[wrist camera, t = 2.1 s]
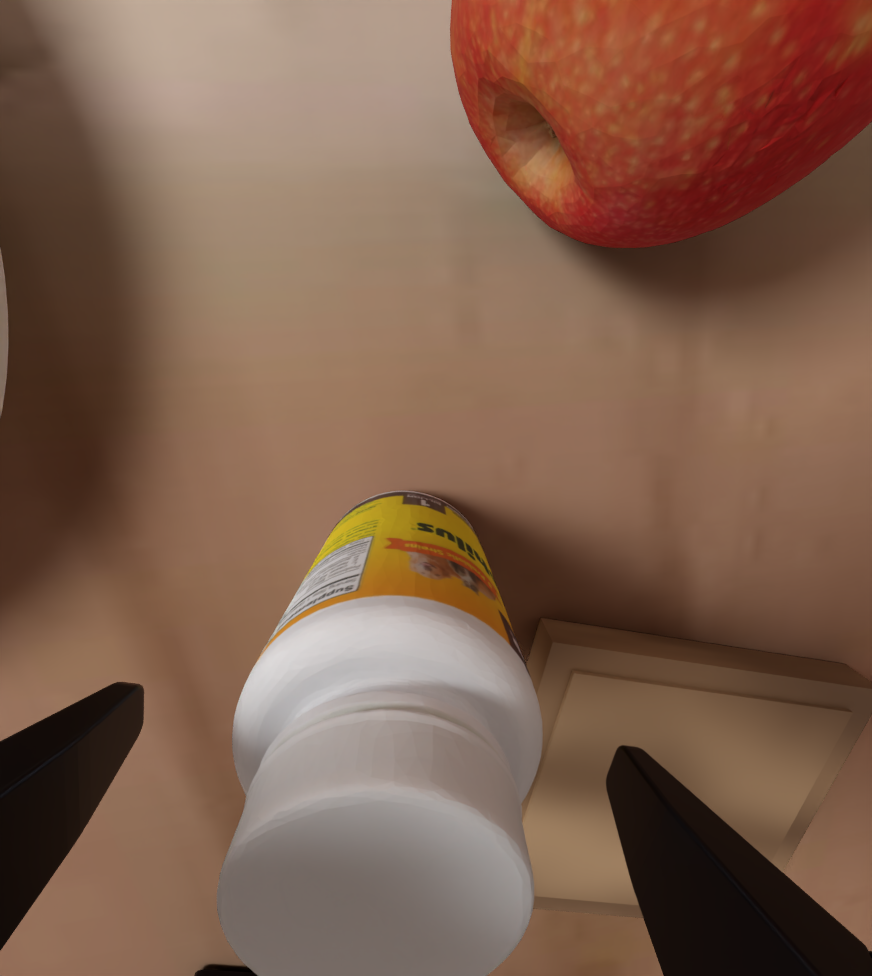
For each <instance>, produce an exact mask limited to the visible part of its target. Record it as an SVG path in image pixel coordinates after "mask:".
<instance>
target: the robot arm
mask: <svg viewBox="0 0 872 976" xmlns="http://www.w3.org/2000/svg"><path fill="white" fill-rule="evenodd" d="M143 718H144V689H143V687H142V685H140V684H135V683H127V682H116V683H114V684H111V685H109V686H107V687H105V688H103V689H102V690H100V691H98V692H96V693H94V694H92V695H90V696H88V697H86V698H84V699H82V700H80V701H78V702H76V703H74V704H72V705H70V706H68V707H66V708H64V709H62V710H61V711H59V712H57V713H55V714H53V715H51V716H49V717H47V718H45V719H43V720H41V721H39V722H37V723H35V724H33V725H31V726H29V727H27V728H25V729H23V730H21V731H20V732H18V733H16V734H14V735H12V736H10V737H8V738H6V739H4V740H2V741H0V950H1V949H2V948H3V946H4V945H5V943H6V942H7V940H8V939H9V938H10V936H11V935H12V933H13V932H14V930H15V929H16V928H17V926H18V925H19V923H20V922H21V920H22V919H23V917H24V916H25V915H26V913H27V912H28V910H29V909H30V907H31V906H32V905H33V903H34V902H35V900H36V899H37V897H38V896H39V895H40V893H41V892H42V890H43V889H44V887H45V886H46V884H47V883H48V882H49V880H50V879H51V877H52V876H53V874H54V873H55V872H56V870H57V869H58V867H59V866H60V864H61V863H62V861H63V860H64V859H65V857H66V856H67V854H68V853H69V851H70V850H71V848H72V847H73V845H74V844H75V842H76V841H77V839H78V838H79V836H80V835H81V833H82V832H83V830H84V828H85V827H86V825H87V823H88V822H89V820H90V819H91V817H92V815H93V813H94V812H95V810H96V808H97V807H98V805H99V803H100V801H101V800H102V798H103V796H104V795H105V793H106V791H107V789H108V788H109V786H110V784H111V783H112V781H113V779H114V777H115V776H116V774H117V772H118V770H119V769H120V767H121V765H122V764H123V762H124V760H125V758H126V757H127V755H128V753H129V752H130V750H131V748H132V746H133V745H134V743H135V741H136V740H137V738H138V736H139V734H140V732H141V729H142V726H143ZM606 790H607V794H608V798H609V801H610V805H611V809H612V813H613V816H614V820H615V824H616V828H617V831H618V835H619V839H620V843H621V846H622V850H623V854H624V858H625V861H626V865H627V869H628V872H629V876H630V879H631V882H632V886H633V889H634V892H635V895H636V898H637V901H638V904H639V907H640V910H641V912H642V915H643V918H644V921H645V924H646V927H647V929H648V932H649V935H650V938H651V941H652V944H653V946H654V949H655V952H656V955H657V958H658V961H659V963H660V966H661V969H662V972H663V975H664V976H872V951H868V949H867V947H866V946H865V945H864V944H863V943H862V942H861V941H860V940H859V939H858V938H856V937H855V936H854V935H853V934H852V933H851V932H850V931H848V930H847V929H846V928H845V927H844V926H843V925H842V924H841V923H839V922H838V921H837V920H836V919H835V918H834V917H833V916H831V915H830V914H829V913H828V912H827V911H826V910H825V909H824V908H822V907H821V906H820V905H819V904H818V903H817V902H816V901H814V900H813V899H812V898H811V897H810V896H809V895H808V894H807V893H805V892H804V891H803V890H802V889H801V888H800V887H799V886H797V885H796V884H795V883H794V882H793V881H792V880H791V879H790V878H788V877H787V876H786V875H785V874H784V873H783V872H782V871H780V870H779V869H778V868H777V867H776V866H775V865H774V864H772V863H771V862H770V861H769V860H768V859H767V858H766V857H765V856H763V855H762V854H761V853H760V852H759V851H758V850H757V849H755V848H754V847H753V846H752V845H751V844H750V843H749V842H748V841H746V840H745V839H744V838H743V837H742V836H741V835H740V834H738V833H737V832H736V831H735V830H734V829H733V828H732V827H731V826H729V825H728V824H727V823H726V822H725V821H724V820H723V819H721V818H720V817H719V816H718V815H717V814H716V813H715V812H714V811H712V810H711V809H710V808H709V807H708V806H707V805H706V804H704V803H703V802H702V801H701V800H700V799H699V798H698V797H696V796H695V795H694V794H693V793H692V792H691V791H690V790H689V789H687V788H686V787H685V786H684V785H683V784H682V783H681V782H679V781H678V780H677V779H676V778H675V777H674V776H673V775H672V774H670V773H669V772H668V771H667V770H666V769H665V768H664V767H662V766H661V765H660V764H659V763H658V762H657V761H656V760H655V759H653V758H652V757H651V756H650V755H649V754H648V753H647V752H645V751H644V750H643V749H641V748H639V747H634V746H626V745H621V746H619V747H618V748H617V750H616V752H615V755H614V757H613V760H612V763H611V765H610V768H609V770H608V773H607V776H606ZM194 976H258V975H257V974H255V973H249V972H234V971H220V970H199V971H197V972H196V973H195V975H194Z"/></svg>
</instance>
